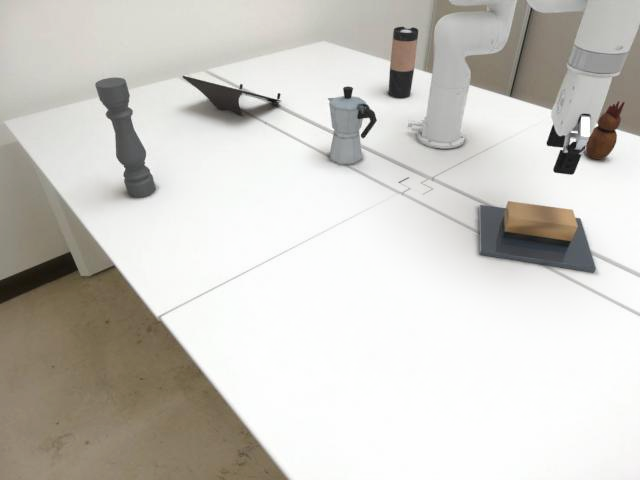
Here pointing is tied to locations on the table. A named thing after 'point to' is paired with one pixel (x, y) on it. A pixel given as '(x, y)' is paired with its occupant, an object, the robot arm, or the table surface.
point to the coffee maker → (348, 127)
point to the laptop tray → (225, 95)
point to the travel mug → (402, 61)
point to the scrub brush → (539, 223)
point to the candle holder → (126, 137)
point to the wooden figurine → (605, 133)
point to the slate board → (532, 244)
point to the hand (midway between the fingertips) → (558, 158)
